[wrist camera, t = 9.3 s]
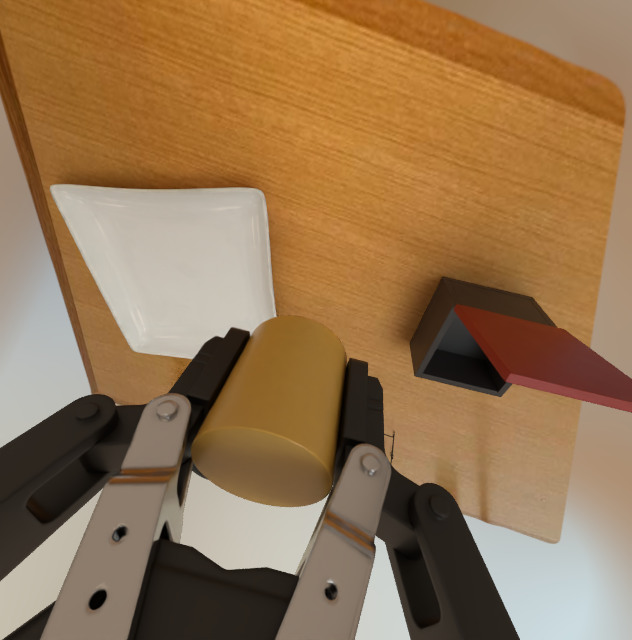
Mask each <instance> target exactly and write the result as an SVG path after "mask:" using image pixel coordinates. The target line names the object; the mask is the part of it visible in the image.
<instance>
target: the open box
mask: <svg viewBox="0 0 632 640" xmlns="http://www.w3.org/2000/svg"><path fill="white" fill-rule="evenodd" d="M456 304H460V305H464V306H468V307H472V308H477V309H481V310H485V311H489V312H493V313H498V314H502V315H506V316H510V317H514V318H519V319H523V320H527V321H531V322H536V323H540V324H544V325H548V326H552V327H557V326H556V325H555V324H554V323H553V321H552V320H551V319H550V318H549V317H548V315H547V314H546V313H545V312H544V311H543V309H542V308H541V307H540V306H539V305H538V303H537V302H536V301H535V300H534V299H533V298H532V297H528V296H524V295H520V294H515V293H511V292H507V291H502V290H498V289H494V288H490V287H485V286H481V285H477V284H473V283H468V282H464V281H460V280H456V279H451V278H447V277H442V279H441V281H440V283H439V285H438V287H437V289H436V291H435V293H434V295H433V297H432V299H431V301H430V303H429V305H428V307H427V309H426V311H425V313H424V315H423V317H422V319H421V321H420V323H419V326H418V328H417V330H416V332H415V334H414V336H413V338H412V340H411V342H410V349H411V356H412V363H413V369H414V376H416V377H421V378H425V379H429V380H433V381H437V382H441V383H445V384H449V385H453V386H457V387H461V388H465V389H469V390H474V391H478V392H482V393H486V394H490V395H494V396H498V397H501V396H502V395H503V394H504V393H505V392H506V391H507V390H508V388H509V387H510V386H511V385H512V383H508V382H505V381H504V380H503V378H502V377H501V375H500V374H499V373H498V371H497V370H496V368H495V367H494V366H493V364H492V363H491V361H490V360H489V359H488V357H487V356H486V355H485V353H484V352H483V350H482V349H481V348H480V346H479V345H478V343H477V342H476V341H475V339H474V338H473V336H472V335H471V334H470V332H469V331H468V329H467V328H466V327H465V325H464V324H463V323H462V321H461V320H460V318H459V317H458V316H457V314H456V313H455V311H454V308H455V306H456ZM557 328H558V327H557Z"/></svg>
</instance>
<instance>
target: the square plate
mask: <svg viewBox="0 0 632 640" xmlns="http://www.w3.org/2000/svg"><path fill="white" fill-rule="evenodd" d="M50 192H51V194H52V197H53V199H54V201H55V203H56V205H57V207H58V209H59V211H60V213H61V215H62V217H63V219H64V221H65V223H66V225H67V226H68V228H69V230H70V233H71V234H72V236H73V238H74V240H75V242H76V245H77V247H78V248H79V250H80V252H81V254H82V256H83V258H84V260H85V262H86V264H87V266H88V268H89V270H90V272H91V274H92V276H93V278H94V280H95V281H96V283H97V285H98V287H99V289H100V291H101V293H102V295H103V297H104V299H105V301H106V303H107V305H108V307H109V309H110V310H111V312H112V314H113V316H114V318H115V320H116V322H117V324H118V326H119V328H120V330H121V331H122V333H123V335H124V337H125V339H126V341H127V342H128V344H129V346H130V347H131V349H132V350H133V351H135V352H139V353H147V354H155V355H164V356H172V357H181V358H189V359H193V358H194V357H195V355H196V354H198V351H199V350H200V349H201V347H202V346H203V344H204V343H205V342H207V341H208V340H210V339H211V338H213V337H215V336H219V337H223V338H224V337H225V335H226V334H227V332H228V331H229V329H230V328H231V327H235V328H239V329H242V330H246V331H250V336H251V334H252V333H253V331H254V330H255V329H256V328H257V327H258V326H259V325H260V324H261V323H263V322H264V321H267V320H269V319H271V318H274V317H277V315H276V307H275V299H274V289H273V280H272V267H271V252H270V239H269V226H268V214H267V206H266V200H265V196H264V194H263V192H262V191H261V190H259V189H255V188H244V187H228V188H199V189H125V188H111V187H98V186H86V185H73V184H55V185H51V186H50Z"/></svg>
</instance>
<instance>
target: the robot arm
mask: <svg viewBox="0 0 632 640" xmlns="http://www.w3.org/2000/svg"><path fill="white" fill-rule="evenodd" d="M249 338H250V331H246V330H242V329H239V328H235V327H231V328H230V329H229V331H228V332H227V334H226V335H225V337H224V338H223V337H219V336H215V337H213V338H211V339H210V340H208V341H207V342H205V343H204V344H203V346H202V347H201V349H200V350H199V351H198V354H196V355H195V357H194V358H193V360H192V362H190V364H189V365H188V366H187V368H186V369H185V371H184V372H183V373H182V375H181V376H180V377H179V379H178V380H177V382H176V383H175V384H174V386H173V387H172V388H171V390H170V391H169V392H168V393H167V394H164V395H160V396H158V397H156V398H154V399H153V400H151V401H150V402H149V403H148V404H144V405H124V406H116V405H115V402H114V401H113V399H112V398H110V397H109V396H106V395H101V394H94V395H88V396H85V397H81V398H79V399H77V400H75V401H73V402H72V403H70V404H69V405H67V406H66V407H64V408H63V409H61V410H59V411H58V412H56V413H54V414H53V415H51V416H50V417H48V418H47V419H45V420H43V421H42V422H40V423H39V424H37V425H36V426H34V427H32V428H31V429H29V430H28V431H26V432H25V433H23V434H22V435H20V436H18V437H17V438H15V439H14V440H12V441H11V442H9V443H7V444H6V445H4V446H3V447H1V448H0V581H1V580H2V579H3V578H4V577H5V576H7V575H8V574H9V573H10V572H11V571H12V570H13V569H14V568H15V567H16V566H17V565H19V564H20V563H21V562H22V561H23V560H24V559H25V558H26V557H27V556H29V555H30V554H31V553H32V552H33V551H34V550H35V549H36V548H37V547H39V545H41V544H42V543H43V542H44V541H45V540H46V539H47V538H48V537H49V536H51V535H52V534H53V533H54V532H55V531H56V530H57V529H58V528H59V527H60V526H62V525H63V524H64V523H65V522H66V521H67V520H68V519H69V518H70V517H71V516H73V515H74V514H75V513H76V512H77V511H78V510H79V509H80V508H81V507H83V506H84V505H85V504H86V503H87V502H88V501H89V500H90V499H91V498H92V497H93V496H95V495H96V494H97V493H98V492H99V491H100V490H101V489H102V488H103V487H104V488H103V490H102V493H101V495H100V497H99V500H98V502H97V504H96V507H95V509H94V511H93V514H92V516H91V519H90V521H89V524H88V526H87V528H86V531H85V533H84V536H83V538H82V540H81V543H80V545H79V547H78V550H77V552H76V555H75V557H74V560H73V562H72V564H71V567H70V569H69V572H68V574H67V576H66V579H65V581H64V584H63V586H62V588H61V590H60V593H59V595H58V598H57V600H56V601H54V602H53V603H52V604H50V605H49V606H48V607H46V608H45V609H44V610H42V611H41V612H39V613H38V614H37V615H35V616H34V617H32V618H31V619H30V620H28V621H27V622H26V623H24V624H23V625H22V626H20V627H19V628H17V629H16V630H15V631H13V632H12V633H11V634H9V635H8V636H7V637H5V638H4V639H3V640H355V636H356V632H357V627H358V624H359V620H360V615H361V611H362V607H363V603H364V599H365V595H366V591H367V587H368V583H369V579H370V575H371V571H372V567H373V563H374V558H375V551H376V546H375V544H374V538H375V535H376V536H377V537H378V538H380V539H381V540H383V541H384V542H385V544H386V547H387V551H388V555H389V559H390V563H391V567H392V570H393V574H394V578H395V582H396V586H397V590H398V593H399V597H400V600H401V604H402V608H403V612H404V616H405V619H406V623H407V627H408V631H409V635H410V638H411V640H520V639H519V636H518V634H517V632H516V630H515V628H514V625H513V623H512V621H511V619H510V617H509V615H508V612H507V610H506V609H505V606H504V604H503V602H502V599H501V597H500V595H499V593H498V591H497V589H496V587H495V584H494V582H493V580H492V578H491V576H490V573H489V571H488V569H487V567H486V565H485V563H484V561H483V558H482V556H481V554H480V552H479V550H478V547H477V545H476V543H475V541H474V539H473V536H472V534H471V532H470V530H469V528H468V526H467V523H466V521H465V519H464V517H463V515H462V513H461V510H460V508H459V506H458V504H457V502H456V501H455V499H454V498H453V496H452V495H451V494H450V493H449V492H448V491H447V490H445V489H444V488H443V487H441V486H439V485H437V484H434V483H424V484H422V485H421V486H419V485H417V484H415V483H414V482H412V481H411V480H409V479H407V478H406V477H404V476H403V475H401V474H400V473H398V472H397V471H396V470H395V469H394V468H393V467H392V465H391V464H390V462H389V460H388V458H387V457H386V454H385V449H384V415H383V389H382V387H381V384H380V382H379V380H378V378H375V377H371V376H368V362H365V361H361V360H357V359H353V358H350V359H349V361H348V364H347V366H346V373H345V382H344V391H343V400H342V409H341V418H340V426H339V435H338V444H337V453H336V462H335V471H334V482H333V487H332V489H331V491H330V493H329V496H328V498H327V501H326V503H325V505H324V508H323V510H322V513H321V515H320V517H319V520H318V522H317V525H316V527H315V530H314V532H313V534H312V536H311V539H310V541H309V544H308V546H307V548H306V550H305V553H304V555H303V557H302V559H301V561H300V564H299V566H298V568H297V571H296V573H295V575H293V574H289V573H286V572H282V571H278V570H274V569H271V568H267V567H265V568H251V569H235V570H226V569H224V568H222V567H220V566H219V565H217V564H216V563H215V562H213V561H212V560H210V559H209V558H207V557H206V556H205V555H203V554H202V553H200V552H199V551H197V550H196V549H195V548H193V547H190V546H186V545H183V544H180V539H181V533H182V525H183V512H184V506H185V501H186V496H187V492H188V487H189V482H190V477H191V472H192V468H193V463H194V462H193V460H192V457H191V445H192V442H193V440H194V438H195V437H196V435H197V433H198V431H199V429H200V428H201V426H202V424H203V422H204V420H205V418H206V417H207V415H208V413H209V411H210V409H211V407H212V406H213V404H214V402H215V400H216V398H217V397H218V395H219V393H220V391H221V389H222V387H223V386H224V384H225V382H226V380H227V378H228V376H229V375H230V373H231V371H232V369H233V367H234V365H235V364H236V362H237V360H238V358H239V356H240V355H241V353H242V351H243V349H244V347H245V345H246V344H247V342H248V340H249Z"/></svg>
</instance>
